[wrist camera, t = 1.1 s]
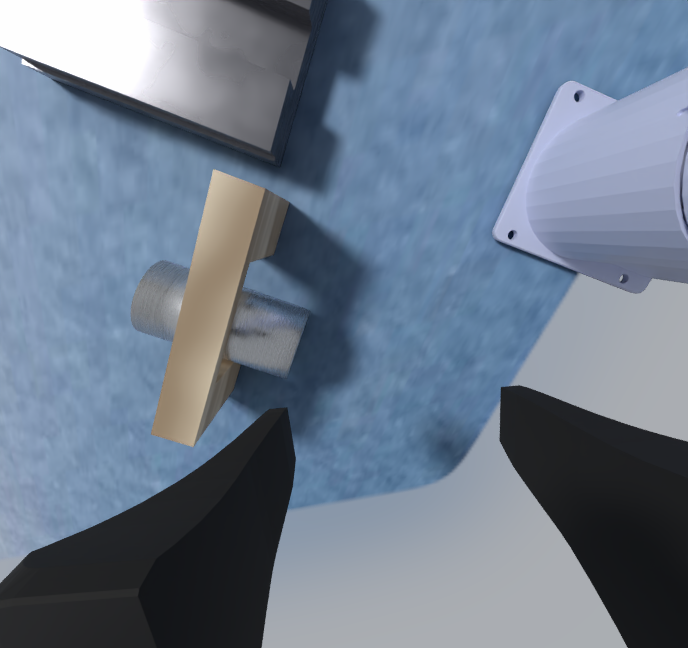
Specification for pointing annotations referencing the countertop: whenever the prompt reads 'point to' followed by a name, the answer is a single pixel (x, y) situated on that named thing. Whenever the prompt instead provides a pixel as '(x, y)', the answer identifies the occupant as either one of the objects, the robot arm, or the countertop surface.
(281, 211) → the beam
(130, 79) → the v block
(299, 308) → the silver metal cylinder
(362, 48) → the countertop surface
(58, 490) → the countertop surface
